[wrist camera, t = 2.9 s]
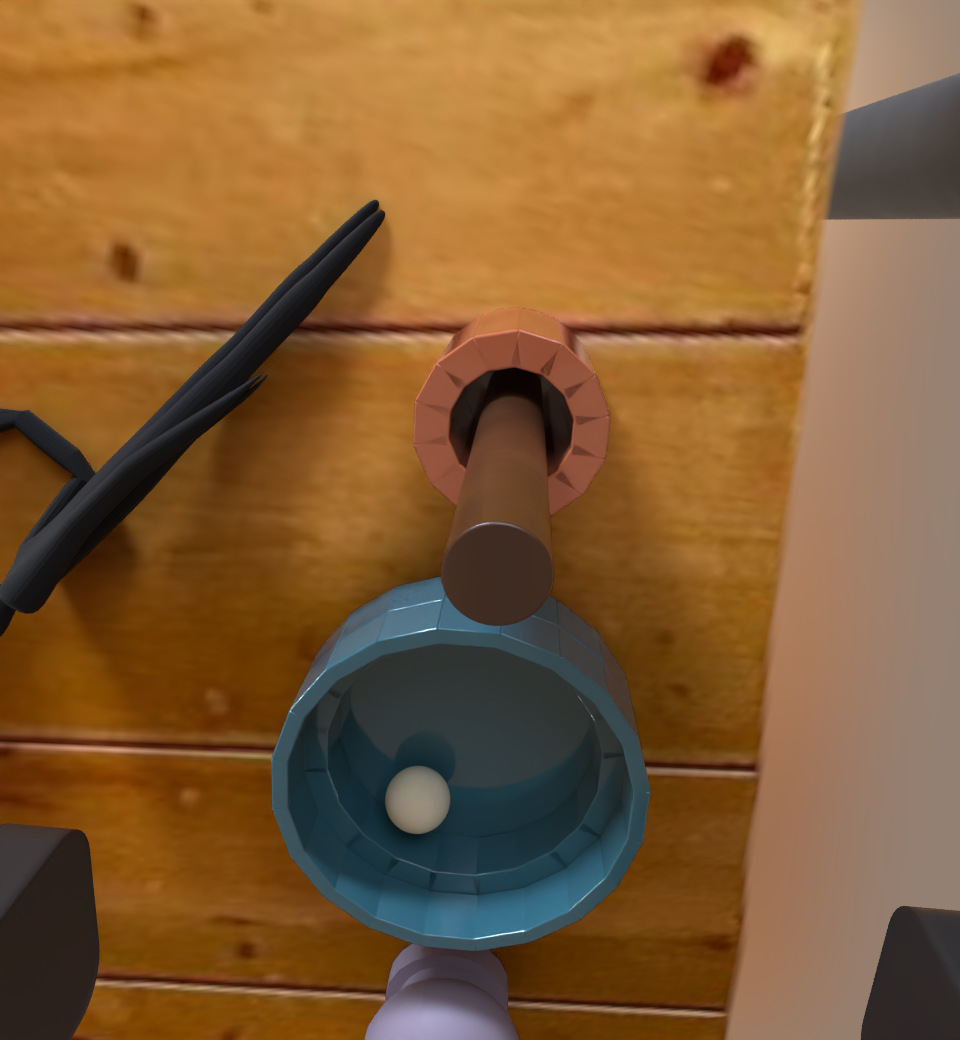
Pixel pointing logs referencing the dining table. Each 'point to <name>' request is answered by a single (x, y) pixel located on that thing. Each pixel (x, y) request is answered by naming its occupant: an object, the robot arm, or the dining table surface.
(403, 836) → the bowl
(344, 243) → the black elongated part
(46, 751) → the dining table surface
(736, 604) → the dining table surface
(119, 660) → the dining table surface
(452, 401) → the holder
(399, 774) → the ball
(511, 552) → the stick
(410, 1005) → the cat figurine
